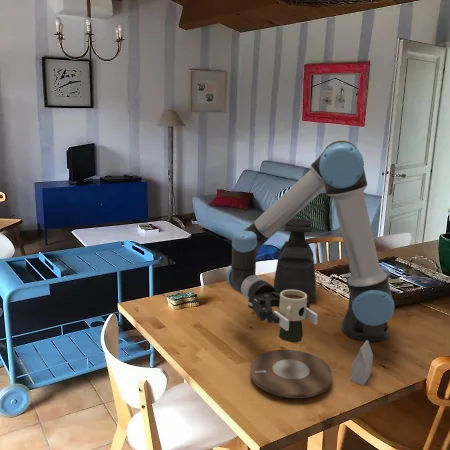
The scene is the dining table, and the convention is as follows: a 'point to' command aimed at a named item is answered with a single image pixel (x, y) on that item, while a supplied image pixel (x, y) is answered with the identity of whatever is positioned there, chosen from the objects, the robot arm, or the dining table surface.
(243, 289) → the robot arm
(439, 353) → the dining table surface
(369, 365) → the grey gabled block
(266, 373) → the turntable
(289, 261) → the dark grey tapered pedestal
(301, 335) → the character mug
